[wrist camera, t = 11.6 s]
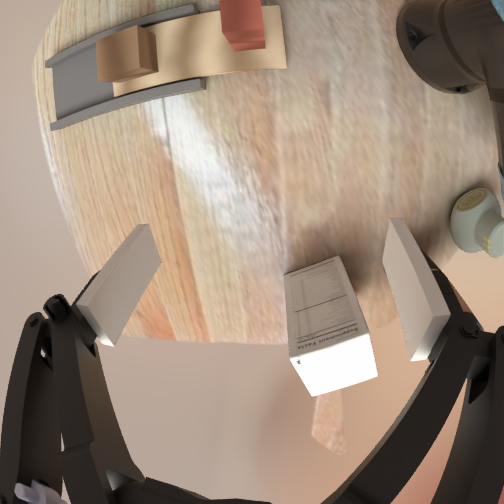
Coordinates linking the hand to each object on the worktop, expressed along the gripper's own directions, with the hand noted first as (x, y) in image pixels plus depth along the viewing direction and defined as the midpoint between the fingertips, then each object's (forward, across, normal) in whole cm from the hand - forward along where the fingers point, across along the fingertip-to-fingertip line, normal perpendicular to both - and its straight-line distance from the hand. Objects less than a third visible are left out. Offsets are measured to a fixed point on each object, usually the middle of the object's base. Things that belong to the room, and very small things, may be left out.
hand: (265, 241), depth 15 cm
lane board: (+23, -21, +14) cm, 34 cm away
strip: (+23, -10, +14) cm, 28 cm away
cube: (+21, -17, +14) cm, 30 cm away
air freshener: (+25, +30, -11) cm, 41 cm away
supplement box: (+21, +5, -23) cm, 32 cm away
